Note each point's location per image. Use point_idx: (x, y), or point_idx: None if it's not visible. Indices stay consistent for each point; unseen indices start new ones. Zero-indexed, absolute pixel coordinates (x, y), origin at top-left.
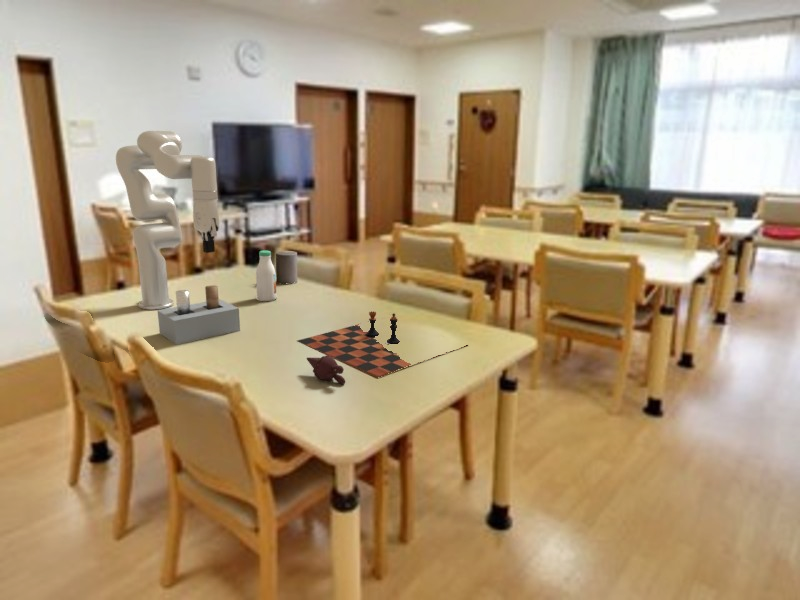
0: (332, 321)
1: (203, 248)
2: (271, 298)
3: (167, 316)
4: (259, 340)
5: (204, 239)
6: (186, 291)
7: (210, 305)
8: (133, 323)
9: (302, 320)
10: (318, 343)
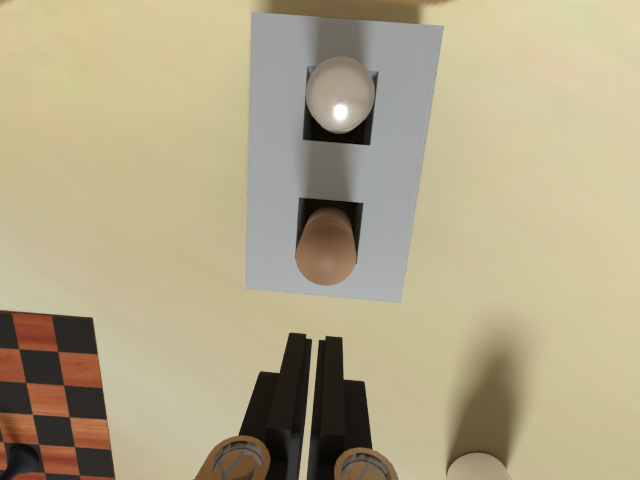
0: (174, 463)
1: (333, 355)
2: (448, 478)
3: (327, 18)
4: (152, 252)
5: (340, 468)
6: (326, 113)
7: (312, 216)
8: (600, 28)
9: (230, 422)
10: (41, 342)
